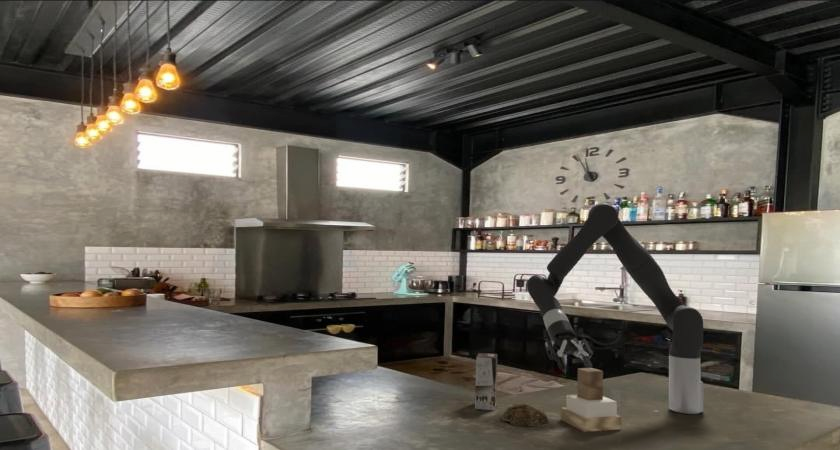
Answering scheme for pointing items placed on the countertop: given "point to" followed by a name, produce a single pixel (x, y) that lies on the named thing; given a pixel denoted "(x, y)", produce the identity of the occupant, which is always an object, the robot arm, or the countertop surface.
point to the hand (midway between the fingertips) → (577, 369)
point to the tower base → (590, 421)
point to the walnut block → (590, 384)
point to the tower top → (591, 406)
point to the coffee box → (486, 381)
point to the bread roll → (524, 416)
